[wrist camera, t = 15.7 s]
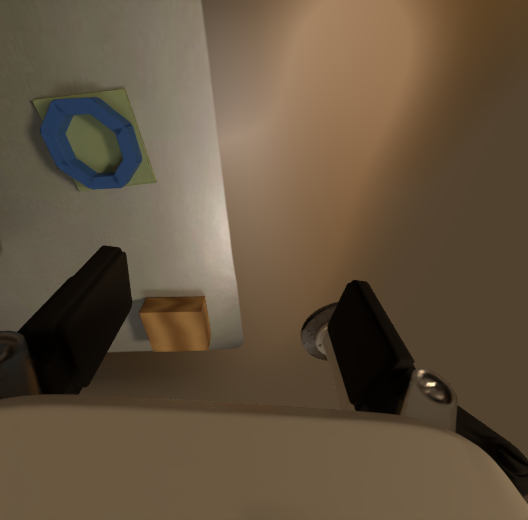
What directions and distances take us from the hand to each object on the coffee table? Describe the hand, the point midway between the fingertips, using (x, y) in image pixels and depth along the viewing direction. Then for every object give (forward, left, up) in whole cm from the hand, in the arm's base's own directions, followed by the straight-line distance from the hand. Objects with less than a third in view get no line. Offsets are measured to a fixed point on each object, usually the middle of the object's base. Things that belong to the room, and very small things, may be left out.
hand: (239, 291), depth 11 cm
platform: (-10, +33, -28) cm, 45 cm away
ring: (+15, +12, -28) cm, 34 cm away
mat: (+15, +12, -28) cm, 34 cm away
